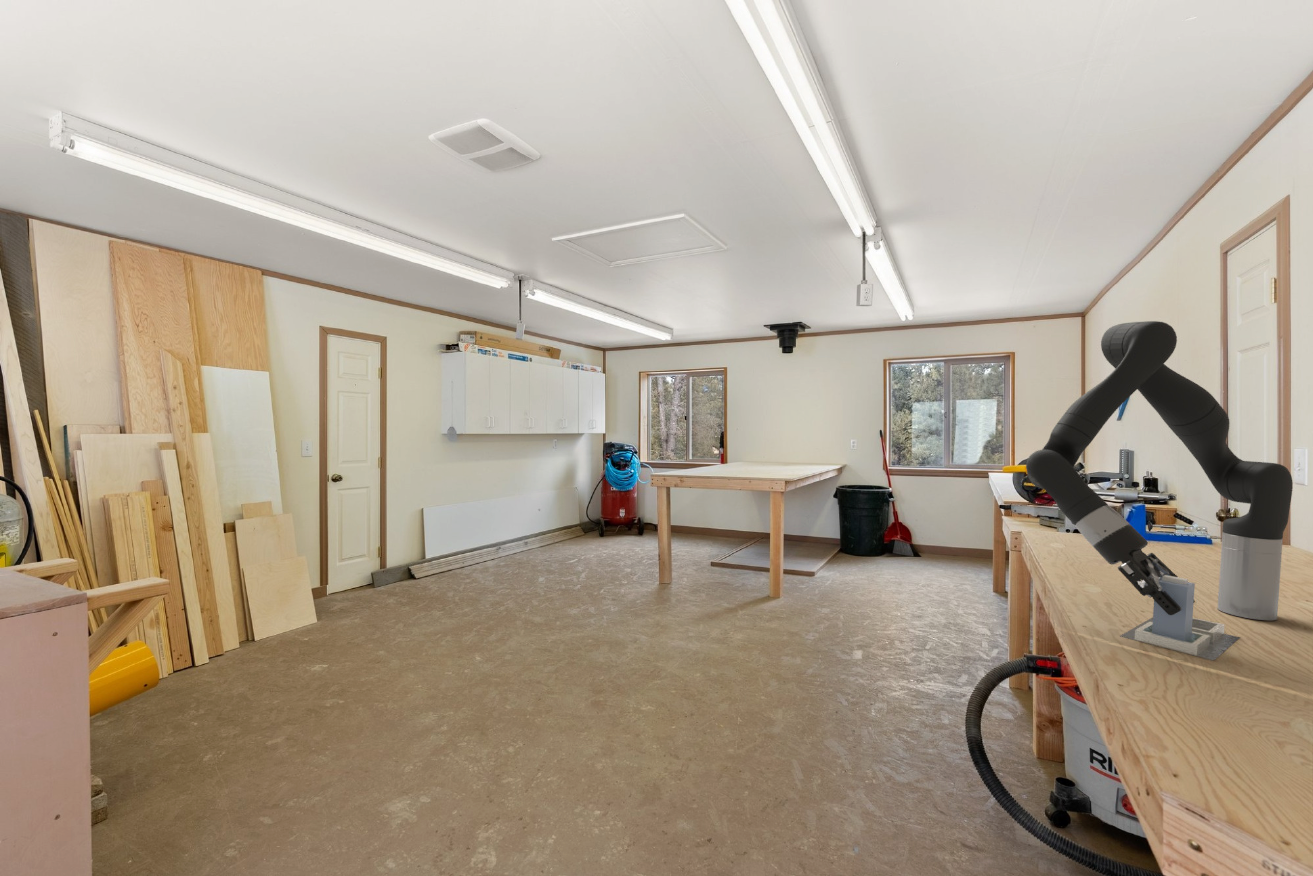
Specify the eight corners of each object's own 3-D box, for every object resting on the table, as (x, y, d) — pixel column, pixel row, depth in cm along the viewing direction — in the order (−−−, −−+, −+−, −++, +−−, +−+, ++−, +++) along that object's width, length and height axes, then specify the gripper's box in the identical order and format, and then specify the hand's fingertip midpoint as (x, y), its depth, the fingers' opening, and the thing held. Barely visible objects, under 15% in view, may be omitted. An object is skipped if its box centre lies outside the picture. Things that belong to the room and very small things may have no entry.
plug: (1159, 635, 111) (1163, 573, 110) (1190, 643, 107) (1195, 579, 107) (1151, 640, 108) (1155, 576, 108) (1183, 648, 104) (1187, 582, 104)
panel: (1152, 620, 122) (1153, 608, 122) (1240, 640, 111) (1240, 627, 111) (1119, 639, 110) (1120, 626, 110) (1213, 664, 100) (1214, 650, 99)
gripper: (1114, 526, 108) (1193, 605, 100) (1139, 520, 117) (1214, 592, 108) (1079, 549, 113) (1151, 626, 104) (1105, 541, 121) (1174, 612, 113)
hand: (1183, 608), depth 106 cm, fingers open, 8 cm apart
